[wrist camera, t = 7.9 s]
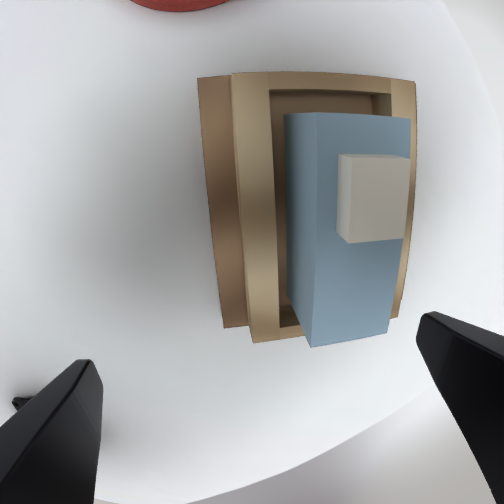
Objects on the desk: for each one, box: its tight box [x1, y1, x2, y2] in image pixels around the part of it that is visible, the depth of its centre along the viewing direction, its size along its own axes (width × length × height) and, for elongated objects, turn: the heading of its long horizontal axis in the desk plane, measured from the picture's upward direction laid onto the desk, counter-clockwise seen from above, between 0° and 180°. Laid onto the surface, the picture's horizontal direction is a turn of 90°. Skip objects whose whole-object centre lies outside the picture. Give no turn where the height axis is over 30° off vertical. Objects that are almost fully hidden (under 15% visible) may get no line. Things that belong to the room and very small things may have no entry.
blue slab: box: [284, 112, 411, 348], centre depth 14 cm, size 10×4×6 cm, turn 3°
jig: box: [197, 72, 417, 343], centre depth 17 cm, size 14×12×4 cm
